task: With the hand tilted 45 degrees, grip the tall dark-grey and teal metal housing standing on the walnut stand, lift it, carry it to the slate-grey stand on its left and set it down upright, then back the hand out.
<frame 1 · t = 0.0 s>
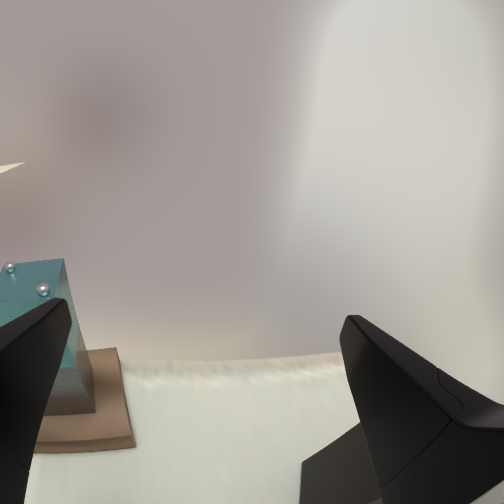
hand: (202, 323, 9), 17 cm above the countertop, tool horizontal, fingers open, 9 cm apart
housing: (67, 391, 19), point 2 cm above the countertop, touching stand A
phone stand: (355, 496, 16), on the countertop
stand A: (74, 405, 20), on the countertop
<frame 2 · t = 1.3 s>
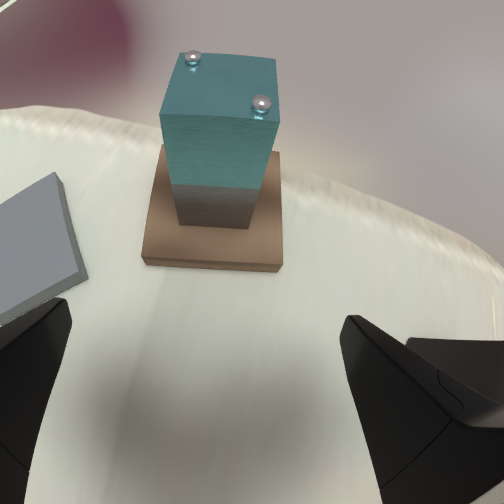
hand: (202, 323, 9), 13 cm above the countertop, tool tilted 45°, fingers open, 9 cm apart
housing: (215, 197, 22), point 2 cm above the countertop, touching stand A
phone stand: (426, 388, 21), on the countertop
stand B: (28, 251, 21), on the countertop
stand A: (215, 209, 24), on the countertop
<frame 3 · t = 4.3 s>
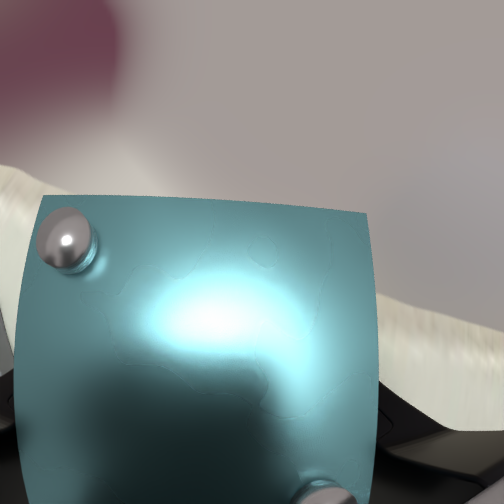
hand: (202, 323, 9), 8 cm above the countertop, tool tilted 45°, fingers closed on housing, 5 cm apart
housing: (205, 363, 13), point 2 cm above the countertop, touching gripper, stand A
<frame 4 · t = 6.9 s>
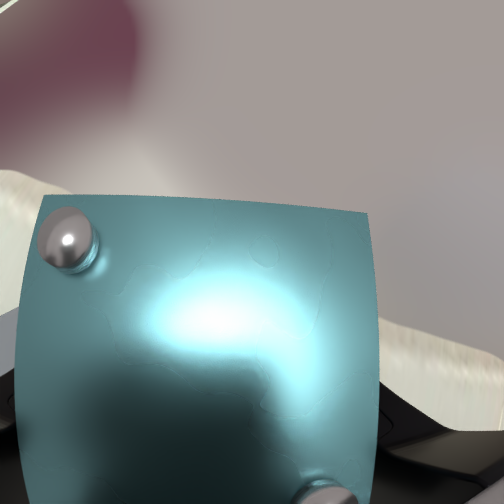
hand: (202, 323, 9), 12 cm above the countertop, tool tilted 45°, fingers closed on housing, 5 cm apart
housing: (205, 363, 13), point 7 cm above the countertop, touching gripper
stand B: (24, 380, 17), on the countertop
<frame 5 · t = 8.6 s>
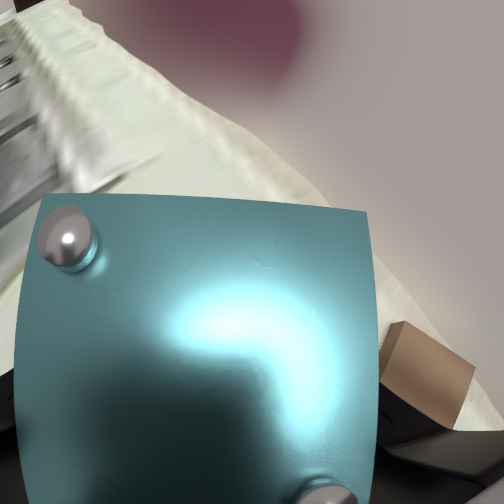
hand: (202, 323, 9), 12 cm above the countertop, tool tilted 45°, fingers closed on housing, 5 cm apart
housing: (205, 363, 14), point 7 cm above the countertop, touching gripper
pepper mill: (28, 4, 38), on the countertop
stand A: (409, 400, 20), on the countertop
when the fingers open (8 cm above the countertop, at t = 9.9 s): housing stays where it is, resting on stand B.
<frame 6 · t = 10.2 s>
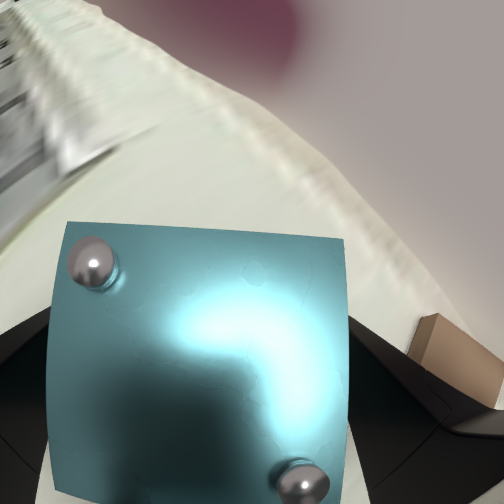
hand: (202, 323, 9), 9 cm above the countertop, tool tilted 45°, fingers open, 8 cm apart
housing: (205, 363, 14), point 2 cm above the countertop, touching stand B
stand A: (439, 404, 17), on the countertop
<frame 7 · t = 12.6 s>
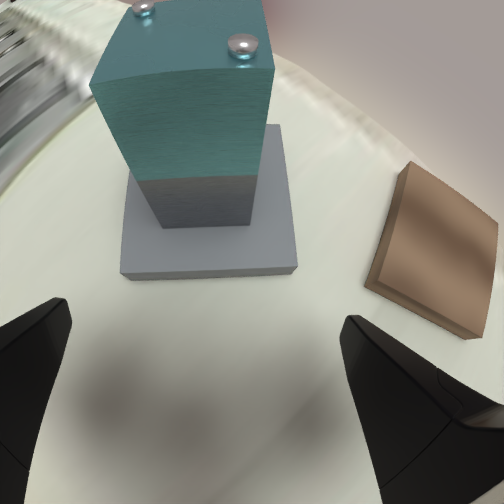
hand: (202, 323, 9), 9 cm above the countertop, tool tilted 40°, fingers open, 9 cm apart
housing: (206, 188, 18), point 2 cm above the countertop, touching stand B
stand B: (207, 202, 20), on the countertop
stand A: (437, 254, 20), on the countertop
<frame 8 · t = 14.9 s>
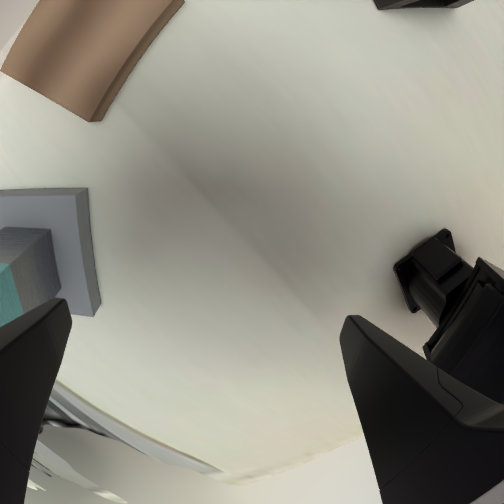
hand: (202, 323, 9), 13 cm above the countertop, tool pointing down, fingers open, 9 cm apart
housing: (31, 257, 19), point 2 cm above the countertop, touching stand B
stand B: (43, 246, 21), on the countertop
stand A: (87, 33, 14), on the countertop
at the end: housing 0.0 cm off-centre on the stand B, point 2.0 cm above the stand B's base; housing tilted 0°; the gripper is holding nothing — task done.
